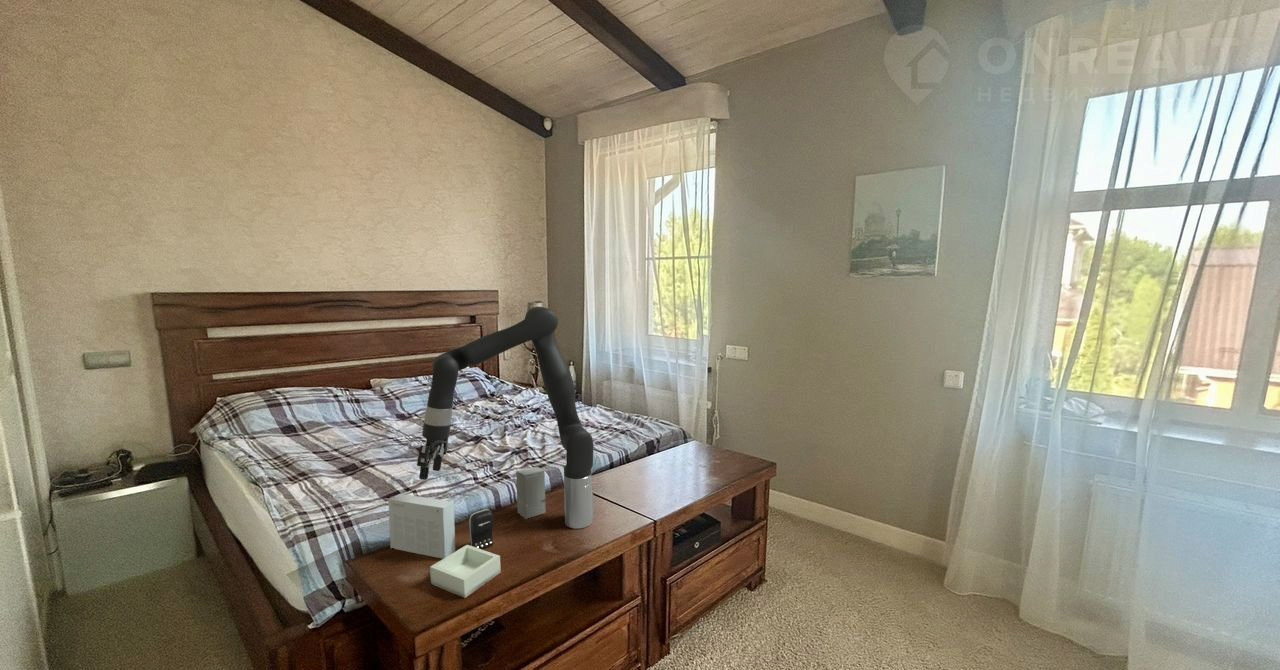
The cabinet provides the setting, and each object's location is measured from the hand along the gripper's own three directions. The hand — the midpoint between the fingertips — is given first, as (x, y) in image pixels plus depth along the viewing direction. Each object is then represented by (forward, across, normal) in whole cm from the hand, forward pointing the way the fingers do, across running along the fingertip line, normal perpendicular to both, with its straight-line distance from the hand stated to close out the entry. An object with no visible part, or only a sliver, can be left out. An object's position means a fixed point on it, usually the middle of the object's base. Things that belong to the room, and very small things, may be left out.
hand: (430, 474), depth 150 cm
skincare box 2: (+19, +29, -26) cm, 44 cm away
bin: (+23, -10, -19) cm, 31 cm away
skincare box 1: (+25, +4, 0) cm, 26 cm away
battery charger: (+22, +6, -17) cm, 29 cm away
